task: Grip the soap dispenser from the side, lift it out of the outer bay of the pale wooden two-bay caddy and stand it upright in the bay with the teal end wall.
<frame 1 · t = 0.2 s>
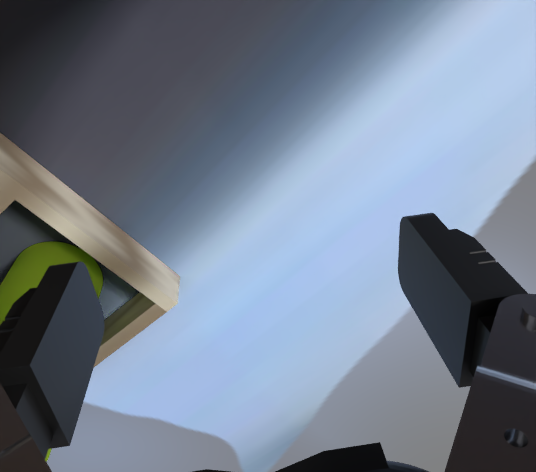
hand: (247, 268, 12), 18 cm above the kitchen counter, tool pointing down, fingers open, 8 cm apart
soap dispenser: (53, 270, 33), resting in caddy
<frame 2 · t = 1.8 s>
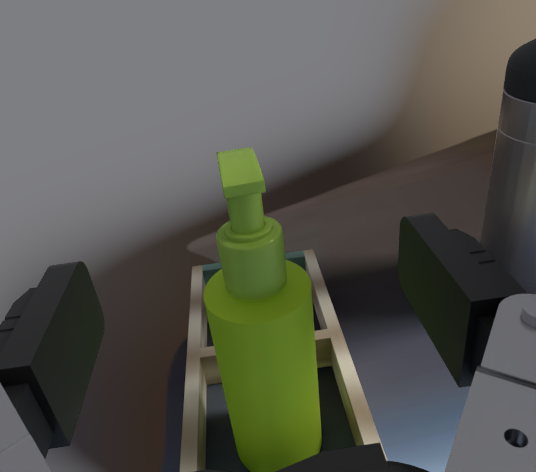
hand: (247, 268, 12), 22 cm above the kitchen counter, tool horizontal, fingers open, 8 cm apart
caddy: (268, 370, 38), on the kitchen counter
soap dispenser: (277, 434, 33), resting in caddy
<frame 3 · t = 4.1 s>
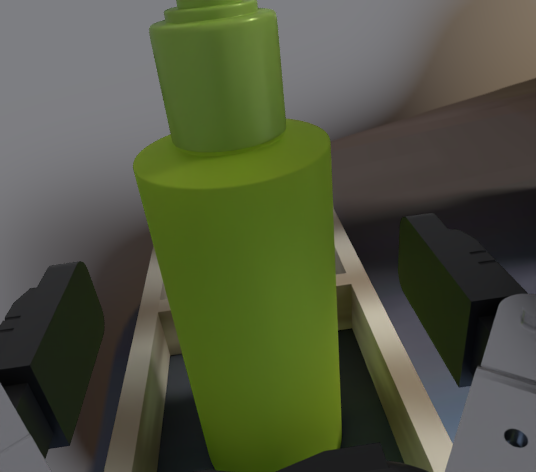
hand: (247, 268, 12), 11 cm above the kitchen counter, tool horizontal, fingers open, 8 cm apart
caddy: (260, 335, 26), on the kitchen counter
soap dispenser: (272, 424, 21), resting in caddy
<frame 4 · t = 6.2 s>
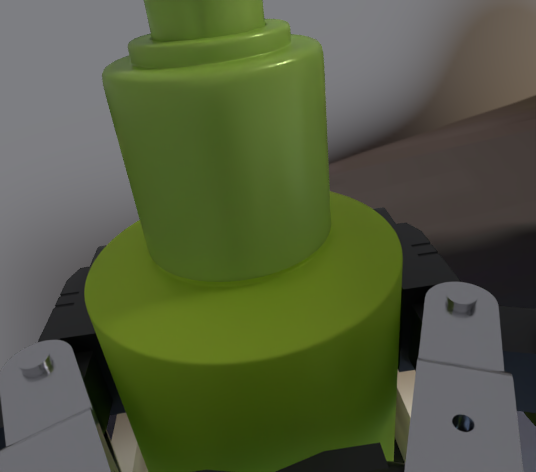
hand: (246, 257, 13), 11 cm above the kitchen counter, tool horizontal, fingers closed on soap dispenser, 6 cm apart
caddy: (273, 425, 21), on the kitchen counter
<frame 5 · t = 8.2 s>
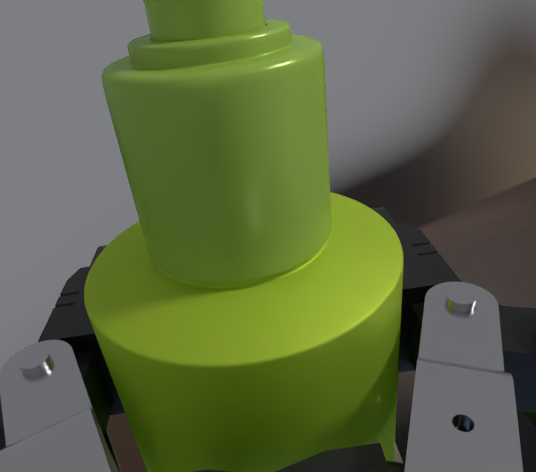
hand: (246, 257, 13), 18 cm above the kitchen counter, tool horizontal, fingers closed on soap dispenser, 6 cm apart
when the fingers open (12 cm above the kitchen counter, at t = 10.5 s): soap dispenser stays where it is, resting in caddy.
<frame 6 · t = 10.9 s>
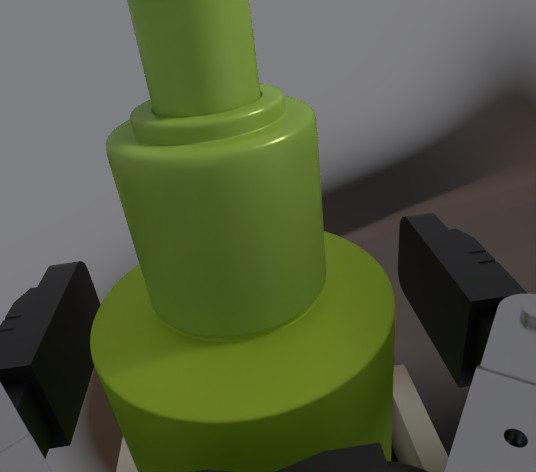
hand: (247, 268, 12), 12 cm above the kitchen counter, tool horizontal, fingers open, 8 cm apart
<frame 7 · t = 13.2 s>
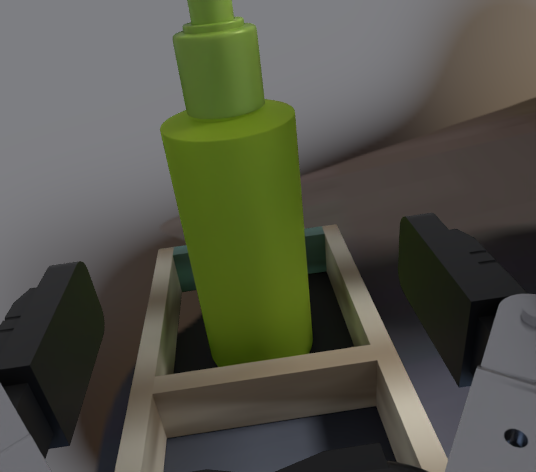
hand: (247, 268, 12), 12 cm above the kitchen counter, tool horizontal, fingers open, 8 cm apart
caddy: (271, 413, 23), on the kitchen counter
soap dispenser: (260, 337, 28), resting in caddy
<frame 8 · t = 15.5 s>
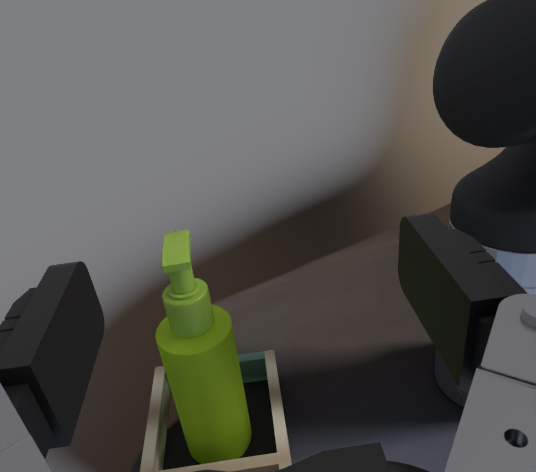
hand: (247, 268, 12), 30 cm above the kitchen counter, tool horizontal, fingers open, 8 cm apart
soap dispenser: (219, 433, 43), resting in caddy
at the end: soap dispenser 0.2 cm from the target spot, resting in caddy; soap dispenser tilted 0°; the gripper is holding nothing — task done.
